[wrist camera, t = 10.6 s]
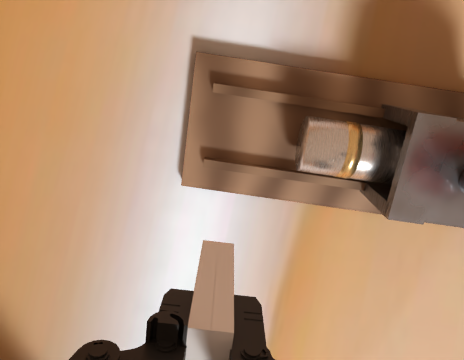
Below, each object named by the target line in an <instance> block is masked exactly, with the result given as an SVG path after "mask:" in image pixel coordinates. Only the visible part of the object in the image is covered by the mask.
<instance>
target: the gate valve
mask: <svg viewBox="0 0 464 360" xmlns="http://www.w3.org/2000/svg"><path fill="white" fill-rule="evenodd" d="M381 108H382V109H385V112H384V115H383V118H385V119H388V120H391V121H394V122H397V123H400V124H403V125H406V126H408V128H407V132H406V135H405V139H404V143H403V146H402V150H401V153H400V157H399V160H398V164H397V168H396V171H395V175H394V178H393V182H392V184H385V183H378V182H371V181H364V180H363V181H364V182H365V183H366V185H365V189H364V191H363V190H360V192H361V193H362V194H363V195H364V196H365V197H366V198H367V199H368V200H369V201H370V202H371V203H372V204H373V205H374V206H375V207H376V208H377V209H378V210H379V211H380V212H381V213H382V214H383V215H384V216H385V217H386V218H387V219H389V220H396V221H403V222H410V223H417V224H424V222H426V223H433V224H440V225H447V226H454V227H461V228H464V118H457V117H451V116H444V115H440V114H435V113H431V112H426V111H422V110H417V109H412V108H406V107H399V106H393V105H386V104H382V107H381Z"/></svg>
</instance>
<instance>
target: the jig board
mask: <svg viewBox="0 0 464 360" xmlns="http://www.w3.org/2000/svg"><path fill="white" fill-rule="evenodd" d="M382 104H386V105H393V106H399V107H406V108H412V109H417V110H422V111H426V112H431V113H435V114H440V115H444V116H451V117H457V118H464V93H461V92H455V91H448V90H442V89H435V88H429V87H422V86H416V85H409V84H403V83H396V82H390V81H383V80H377V79H370V78H364V77H357V76H351V75H344V74H338V73H331V72H325V71H318V70H312V69H305V68H298V67H292V66H285V65H279V64H272V63H266V62H259V61H253V60H246V59H240V58H233V57H227V56H220V55H214V54H207V53H201V52H196V59H195V68H194V76H193V85H192V94H191V103H190V112H189V121H188V130H187V139H186V147H185V156H184V165H183V174H182V183H181V185H182V186H189V187H196V188H203V189H209V190H216V191H223V192H230V193H237V194H244V195H251V196H258V197H265V198H272V199H279V200H286V201H293V202H300V203H306V204H313V205H320V206H327V207H334V208H341V209H348V210H355V211H362V212H369V213H376V214H382V213H381V212H380V211H379V210H378V209H377V208H376V207H375V206H374V205H373V204H372V203H371V202H370V201H369V200H368V199H367V198H366V197H365V196H364V195H363V194H362V193H361V192H360V190H363V191H364V189H365V185H366V183H365V182H364V181H363V180H357V179H351V178H348V179H347V178H340V177H334V176H330V175H323V174H317V173H310V172H303V171H297V170H296V165H295V156H296V146H297V140H298V135H299V131H300V128H301V124H302V122H303V120H304V118H305V117H306V116H312V117H319V118H325V119H332V120H339V121H349V122H356V123H359V124H365V125H372V126H378V127H385V128H392V129H398V130H405V131H407V128H408V126H406V125H403V124H400V123H397V122H394V121H391V120H388V119H385V118H383V115H384V112H385V109H382V108H381V107H382Z"/></svg>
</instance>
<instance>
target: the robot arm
mask: <svg viewBox="0 0 464 360" xmlns="http://www.w3.org/2000/svg"><path fill="white" fill-rule="evenodd" d="M69 360H275V359H274V358H273V357H272V356H271V353H270V351H269V350H268V349H267V347H266V340H265V332H264V323H263V315H262V307H261V304H260V303H259V301H258V300H257V299H256V297H249V296H240V295H234V244H231V243H222V242H213V241H205V240H203V244H202V250H201V255H200V261H199V266H198V272H197V277H196V283H195V288H194V291H188V290H179V289H170V290H169V291H168V292H167V293H166V294H165V295H164V297H163V300H162V303H161V306H160V309H159V312H158V313H155V314H154V315H152V316H150V318H149V319H148V321H147V330H146V343H145V344H143V345H142V346H140V347H138V348H135V349H130V350H124V351H120V349H119V347H118V346H117V345H116V344H115V343H113V342H111V341H107V340H96V341H92V342H89V343H87V344H85V345H83V346H82V347H81V348H79V349H78V350H77V351H76V353H75V354H74V355H73V356H72V357H71V358H70V359H69Z"/></svg>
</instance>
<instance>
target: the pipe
mask: <svg viewBox="0 0 464 360" xmlns="http://www.w3.org/2000/svg"><path fill="white" fill-rule="evenodd" d="M406 132H407V131H405V130H398V129H392V128H385V127H378V126H372V125H365V124H359V123H356V122H349V121H339V120H332V119H325V118H319V117H312V116H306V117H305V118H304V120H303V122H302V124H301V128H300V131H299V135H298V140H297V146H296V156H295V165H296V170H297V171H303V172H310V173H317V174H323V175H330V176H334V177H340V178H347V179H348V178H351V179H357V180H364V181H371V182H378V183H385V184H392V182H393V178H394V175H395V171H396V168H397V164H398V160H399V157H400V153H401V150H402V146H403V143H404V139H405V135H406Z"/></svg>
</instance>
